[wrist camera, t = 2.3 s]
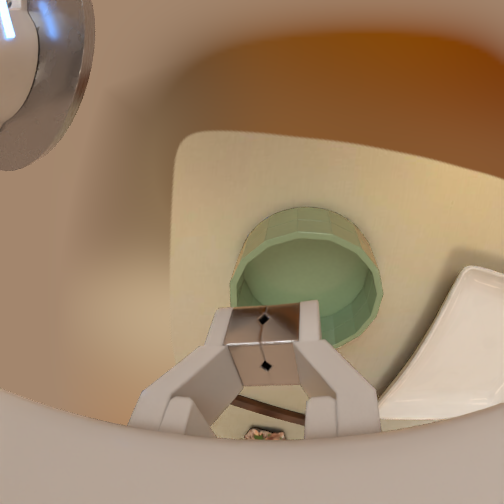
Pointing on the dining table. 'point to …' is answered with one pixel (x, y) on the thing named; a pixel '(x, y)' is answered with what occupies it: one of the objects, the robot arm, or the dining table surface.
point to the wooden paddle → (268, 410)
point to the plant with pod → (263, 435)
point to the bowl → (311, 270)
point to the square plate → (455, 355)
